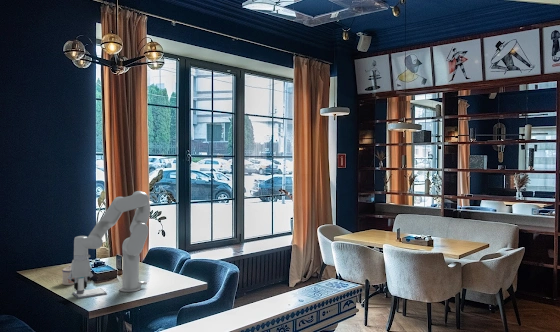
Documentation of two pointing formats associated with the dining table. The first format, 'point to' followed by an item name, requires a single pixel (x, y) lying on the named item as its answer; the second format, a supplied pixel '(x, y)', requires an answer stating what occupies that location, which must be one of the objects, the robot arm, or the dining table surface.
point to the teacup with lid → (65, 276)
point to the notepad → (90, 293)
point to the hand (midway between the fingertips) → (80, 288)
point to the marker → (80, 285)
